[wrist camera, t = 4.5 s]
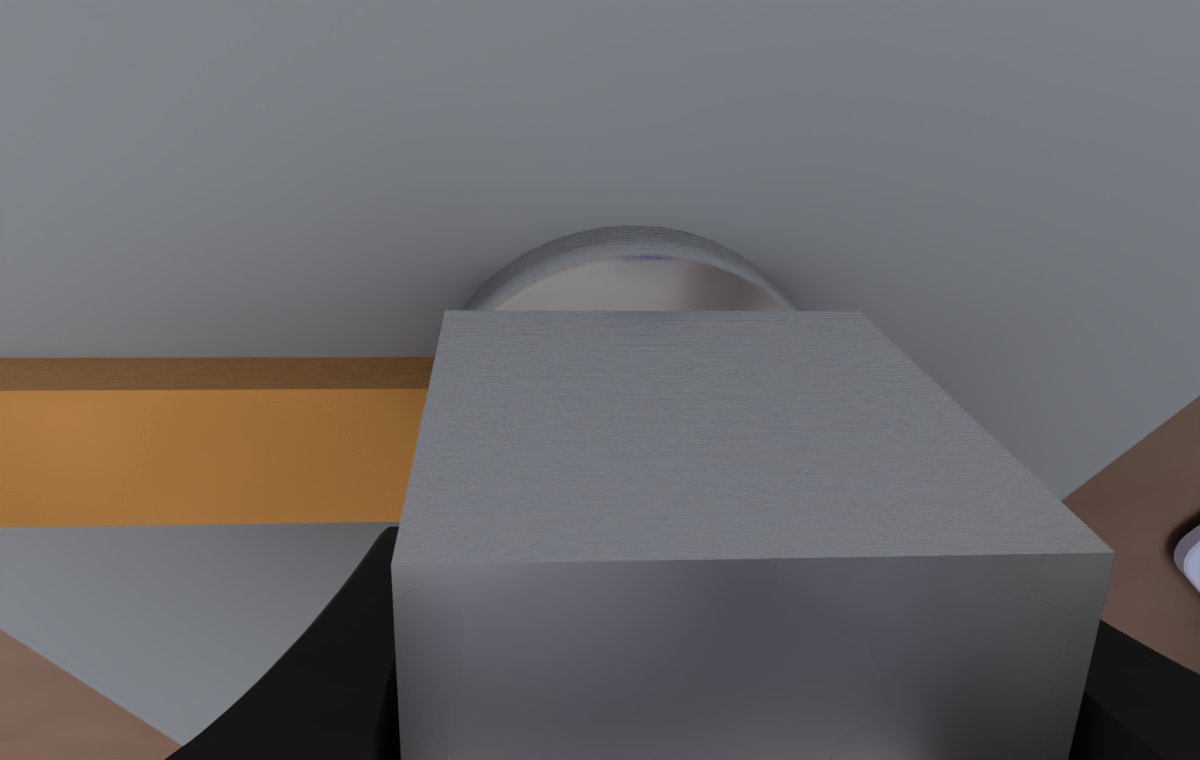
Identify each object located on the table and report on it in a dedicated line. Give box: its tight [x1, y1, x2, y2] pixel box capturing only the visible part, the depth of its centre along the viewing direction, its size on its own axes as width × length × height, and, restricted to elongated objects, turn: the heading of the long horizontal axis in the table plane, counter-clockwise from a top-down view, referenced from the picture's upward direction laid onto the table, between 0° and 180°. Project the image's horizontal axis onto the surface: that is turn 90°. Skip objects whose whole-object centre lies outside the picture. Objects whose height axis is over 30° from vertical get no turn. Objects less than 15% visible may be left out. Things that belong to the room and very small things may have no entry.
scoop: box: [0, 225, 798, 528], centre depth 14 cm, size 14×6×5 cm, turn 88°
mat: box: [0, 0, 1200, 746], centre depth 16 cm, size 19×22×1 cm
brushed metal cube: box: [391, 310, 1115, 760], centre depth 11 cm, size 5×5×6 cm
